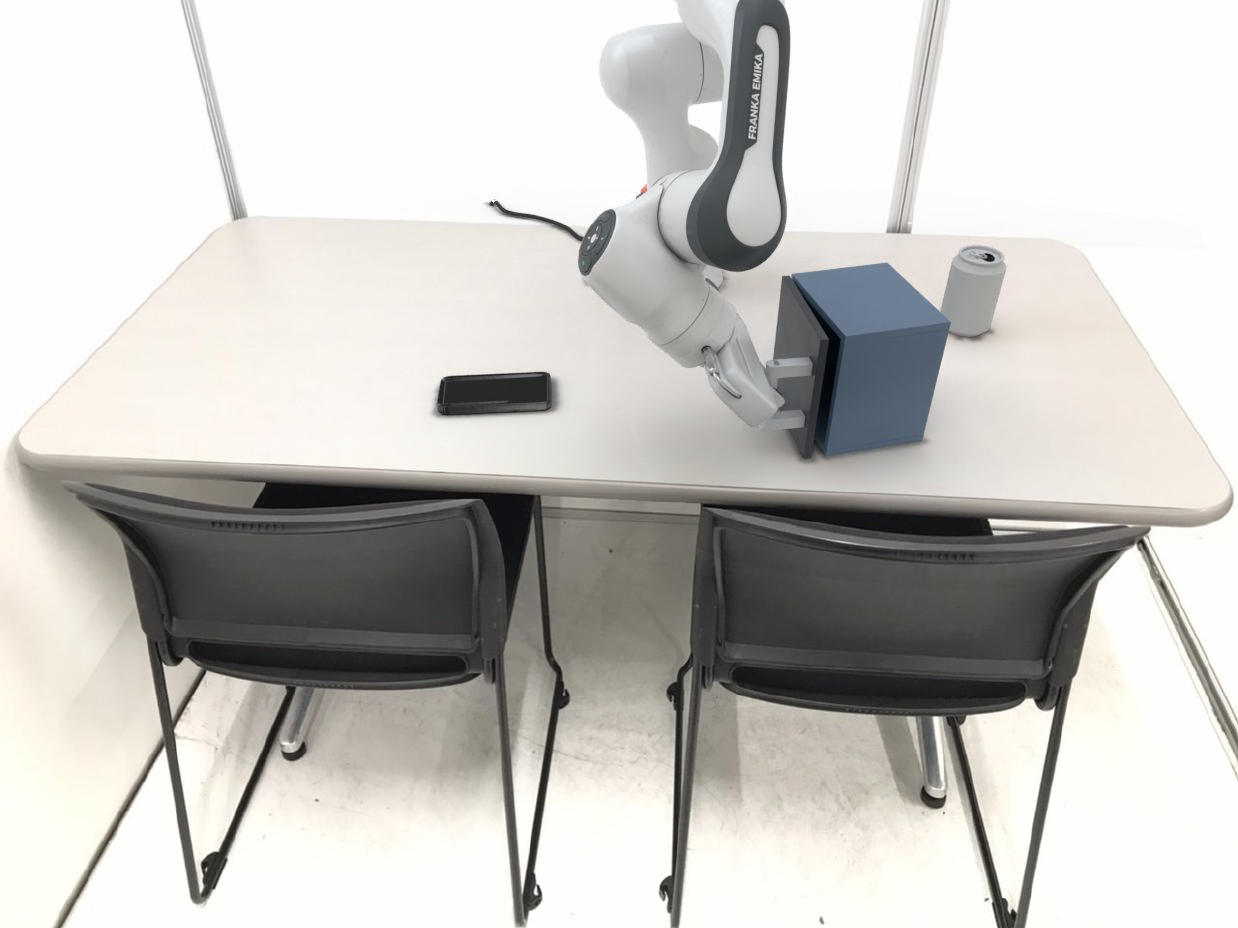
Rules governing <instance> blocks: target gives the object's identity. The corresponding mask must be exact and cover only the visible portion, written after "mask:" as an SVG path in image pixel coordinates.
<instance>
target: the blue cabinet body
mask: <svg viewBox="0 0 1238 928" xmlns="http://www.w3.org/2000/svg"><path fill="white" fill-rule="evenodd" d="M790 277H791V279H792V280H793V282H794V283H795V285H796V287H797V288H798V290H799V292H800V293H801V295H802V296H803V298H804V300H805V301H806V303H807V305H808V306H809V308H810V309H811V311H812V313H813V314H814V316H815V318H816V319H817V321H818V322H819V324H820V326H821V327H822V329H823V331H824V332H825V334H826V335H827V337H828V339H829V342H828V349H827V356H826V362H825V369H824V375H823V382H822V389H821V395H820V402H819V408H818V415H817V421H816V428H815V435H814V441H815V443H816V444H817V446H818V447H819V448H820V450H821V451H822V453H823V454H824V456H825V457H830V456H837V455H842V454H850V453H856V452H862V451H868V450H875V449H881V448H887V447H894V446H899V445H905V444H907V445H908V444H912V443H918V442H923V440H924V435H925V431H926V427H927V423H928V418H929V414H930V410H931V406H932V402H933V398H934V394H935V390H936V386H937V382H938V377H939V374H940V369H941V365H942V361H943V358H944V357H943V356H944V353H945V349H946V345H947V341H948V337H949V333H950V332H949V329H950V325H951V321H949V320H948V319H947V318H946V317H945V316H944V315H943V314H942V313H941V312H940V310H939V309H938V308H937V307H936V306H935V305H933V304H932V303H931V301H929V300H928V299H927V298H926V297H925V296H924V295H923V294H922V293H921V292H920V291H919V290H918V289H916V287H915V286H913V285H912V284H911V283H910V282H909V281H908V280H906V278H905V277H904V276H902V274H900V273H899V272H898V271H897V270H896V269H895V268H894V267H893V266H892V265H890V263H888V262H878V263H872V264H864V265H862V264H861V265H853V266H846V267H838V268H829V269H821V270H814V271H813V270H812V271H804V272H796V273H791V276H790Z"/></svg>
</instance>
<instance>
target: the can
mask: <svg viewBox="0 0 1238 928" xmlns="http://www.w3.org/2000/svg"><path fill="white" fill-rule="evenodd" d="M1004 260H1005V255H1004V254H1003V252H1001V251H1000V250H999V249H997V248H994V247H992V246H988V245H983V244H969V245H966V246H962V247H961V248H960V249H959V250H958V254H956V255H955V256H954V257H952V259H951V264H950V268H949V272H948V276H947V282H946V284H945V288H944V289H945V290H944V294H943V297H942V302H941V306H940V310H939V311H940V312H941V313H942V314H943V315H944V316H945V317H946V318H947V319H948V320H949V321H951V325H950V329H949V333H950V334H953V335H954V336H955V335H956V336H959V337H968V338H969V337H977V336H979V335H982V334H983V333H985V332H988V331H989V330H990V329H991V326H992V322H993V319H994V317H995V316H994V315H995V312H996V307H997V304H998V301H999V297H1000V293H1001V290H1002V286H1003V283H1004V279H1005V275H1006V272H1007V265H1006V263H1005V261H1004Z"/></svg>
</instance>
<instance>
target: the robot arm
mask: <svg viewBox="0 0 1238 928" xmlns="http://www.w3.org/2000/svg"><path fill="white" fill-rule="evenodd" d="M674 2H675V3H676V4H677V5H676V6H677V12H678V15H679V18H680V20H681V21H680V22H671V23H660V24H649V25H641V26H638V27H635V28H632V29H629V30H625V31H623V32H620V33H618V34H615V35H612V36H611V37H610V38H609V39H608V40H607V42H606V43H605V44H604V47H603V49H602V51H601V54H600V58H599V64H598V76H599V82H600V84H601V87H602V90H603V92H604V94H605V96H606V97H607V99H608V100H609V101H610V102H611V103H612V104H613V106H615V107H616V108H617V109H619V110H621V111H622V112H623V113H624V114H626V115H627V116H628V118H630V119H631V121H632V122H633V123H634V125H635V126H636V128H637V130H638V132H639V134H640V137H641V139H642V142H643V146H644V152H645V164H646V184H645V185H644V186H643V187H641V189H640V193H639V194H637V195H636V197H635V199H634V200H631V201H629V202H627V203H626V204H623V205H621V206H618V207H614V208H608V209H605V210H604V211H603V212H602V213H600V214H599V215H598V216H597V217H596V218H595V220H594V221H593V222H592V223H591V224H590V225H589V227H588V228H587V230H586V232H585V234H584V236H582V235H579V234H578V233H577V232H576V231H575V230H574V229H572V228H571V227H570V226H568V225H566V224H565V223H562V222H560V221H557V220H555V219H552V218H548V217H545V216H541V215H537V214H534V213H533V214H532V213H525V212H519V211H513V210H509V209H507V208H505V207H504V206H502V204H501V203H500V202H499V201H498V200H497V201H495V202H494V203H493V202H492V200H491V201H489V203H488V205H489V206H494V205H495V206H496V207H497V209H498V210H499V211H501V212H502V213H503V214H505V215H507V216H512V217H518V218H525V219H531V220H536V221H540V222H544V223H548V224H550V225H553V226H556V227H558V228H561V229H563V230H565V231H566V232H568V233H570V235H571V236H572V237H574V238H575V239H576V240H577V241H580V242H581V243H580V246H579V249H578V256H577V257H578V258H577V266H578V270H579V273H580V275H581V277H582V278H583V280H584V281H585V283H586V284H587V285H588V286H589V288H590V289H591V290H592V291H593V292H594V293H595V294H596V295H597V297H599V298H600V299H601V300H602V301H603V302H604V303H605V304H606V305H607V306H608V307H609V308H610V309H611V310H613V311H614V312H615V313H616V314H618V316H619V317H621V318H622V319H623V320H625V322H628V323H631V324H632V325H635V326H637V327H639V329H641V330H642V331H643V332H644V334H645V335H646V337H647V339H649V341H650V342H652V344H654V345H655V346H656V347H657V348H658V349H660V350H661V351H662V352H663V353H665V355H667V356H668V357H669V358H670V359H672V360H673V361H674V362H675V363H676V364H678V365H680V367H682V368H684V369H695V368H698V367H699V368H703V369H704V372H705V375H706V379H707V381H708V383H709V387H710V389H711V390H712V392H713V393H714V394H715V396H716V397H717V398H718V399H719V400H720V401H721V402H722V403H723V404H724V405H725V406H726V407H727V408H728V409H730V410H731V412H733V413H734V414H735V415H736V416H737V417H738V418H739V419H740V420H741V421H743V422H744V423H745V424H746V425H747V426H749V427H751V428H754V429H755V428H756V429H757V428H760V426H761V425H762V424H763V423H764V422H766V421H767V420H768V419H769V418H771V417H772V416H773V415H774V414H775V413H776V412H778V411H779V409H780V408H779V407H781V406H782V405H783V404H784V403H785V400H784V398H783V395H782V393H781V392H779V391H778V388H779V386H778V387H777V389H776V388H775V387H773V388H771V387H770V386H769V383H768V380H767V378H766V375H765V369H766V366H765V365H764V364H763V363H762V361H760V358H759V355H758V352H757V351H756V348H755V346H754V343H753V340H752V337H751V335H750V333H749V331H748V328H747V327H748V326H747V324H746V323H745V321H744V320H743V318H742V317H741V316H740V314H739V313H738V312H737V309H736V307H735V306H734V305H733V303H731V302H730V301H729V300H728V299H727V298H726V297H725V295H723V294H722V293H721V292H720V290H719V289H718V288H720V287H721V286H722V284H723V282H724V276H723V271H722V270H724V271H726V272H732V273H741V272H747V271H750V270H753V269H755V268H757V267H758V266H761V265H762V264H763V263H765V262H766V261H767V260H768V259H769V258H770V257H771V256H772V255H773V253H774V252H775V251H776V250H777V248H778V247H779V245H780V243H781V241H782V239H783V236H784V233H785V230H786V225H787V220H788V219H787V218H788V205H787V204H788V203H787V195H786V189H785V182H784V173H783V154H784V153H783V151H784V138H785V137H784V136H785V126H786V115H787V103H788V89H789V88H788V87H789V78H790V77H789V76H790V64H791V63H790V62H791V25H790V19H789V16H788V12H787V9H786V4H785V3H786V0H674ZM716 102H718V103H719V102H721V110H720V111H721V112H720V123H719V135H718V142H717V141H716V139H715V138H714V136H713V135H711V134H710V133H709V132H708V131H705V130H704V129H702V128H701V127H698V126H696V125H694V124H691V123H690V122H689V107H691V106H695V105H703V104H709V103H716Z"/></svg>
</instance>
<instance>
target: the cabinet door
mask: <svg viewBox="0 0 1238 928" xmlns="http://www.w3.org/2000/svg"><path fill="white" fill-rule="evenodd" d="M791 277H792V276H791V275H782V276H781V283H780V290H779V291H780V293H779V302H778V310H777V320H776V329H775V337H774V347H773V356H772V359H769V360H766V362H765V368H766V369H765V375H766V378H767V380H768V383H769V386H770V387H771V388H773V387H775V388H776V389H777V387H778V386H779V388H778V391H779V392H781V393H782V395H783V398H784V400H785V403H784V404H783V405H782V406H781V407H779V408H778V409H779V410H780V411H779V410H778V411H777V412H776V413H775V414H774V415H773V416H772V417H771V418H769V419H768V420H767V421H766V422H764V423H763V424H762V425H761V426H759V429H761V430H763V431H779V430H789V431H790V433H791V435H792V437H793V439H794V442H795V444H796V446H797V448H798V450H799V453H800V454H801V457H802V458H803V459H811V458H812V454H813V447H814V441H815V440H814V435H815V428H816V421H817V415H818V408H819V402H820V395H821V389H822V382H823V375H824V369H825V362H826V356H827V349H828V342H829V339H828V337H827V335H826V334H825V332H824V331H823V329H822V327H821V326H820V324H819V322H818V321H817V319H816V318H815V316H814V314H813V313H812V311H811V309H810V308H809V306H808V305H807V303H806V301H805V300H804V298H803V296H802V295H801V293H800V292H799V290H798V288H797V287H796V285H795V283H794V282H793V280H792V279H791Z"/></svg>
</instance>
